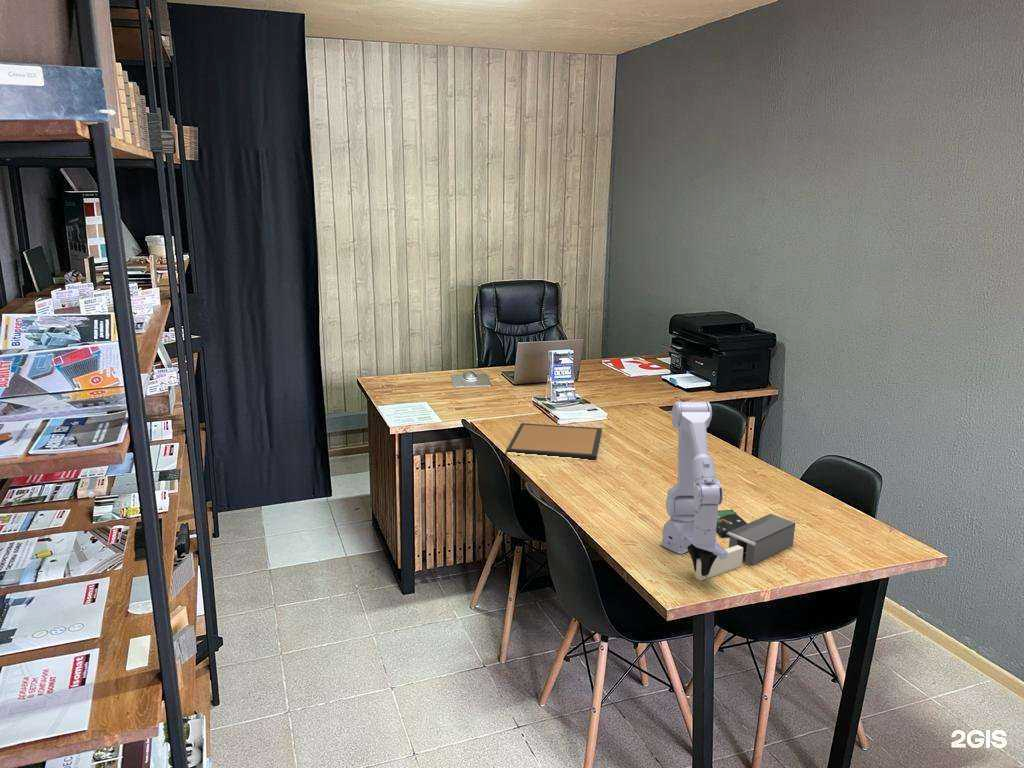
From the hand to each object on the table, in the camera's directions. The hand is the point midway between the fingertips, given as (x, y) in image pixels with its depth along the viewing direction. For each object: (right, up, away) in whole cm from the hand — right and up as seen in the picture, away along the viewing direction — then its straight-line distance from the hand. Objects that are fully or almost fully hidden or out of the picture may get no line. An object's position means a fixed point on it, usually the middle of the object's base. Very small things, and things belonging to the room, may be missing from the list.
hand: (701, 572), depth 201 cm
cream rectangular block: (+6, -1, +4) cm, 7 cm away
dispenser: (+21, +2, +17) cm, 27 cm away
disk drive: (+16, +6, +32) cm, 36 cm away
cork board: (-33, +25, +107) cm, 115 cm away
